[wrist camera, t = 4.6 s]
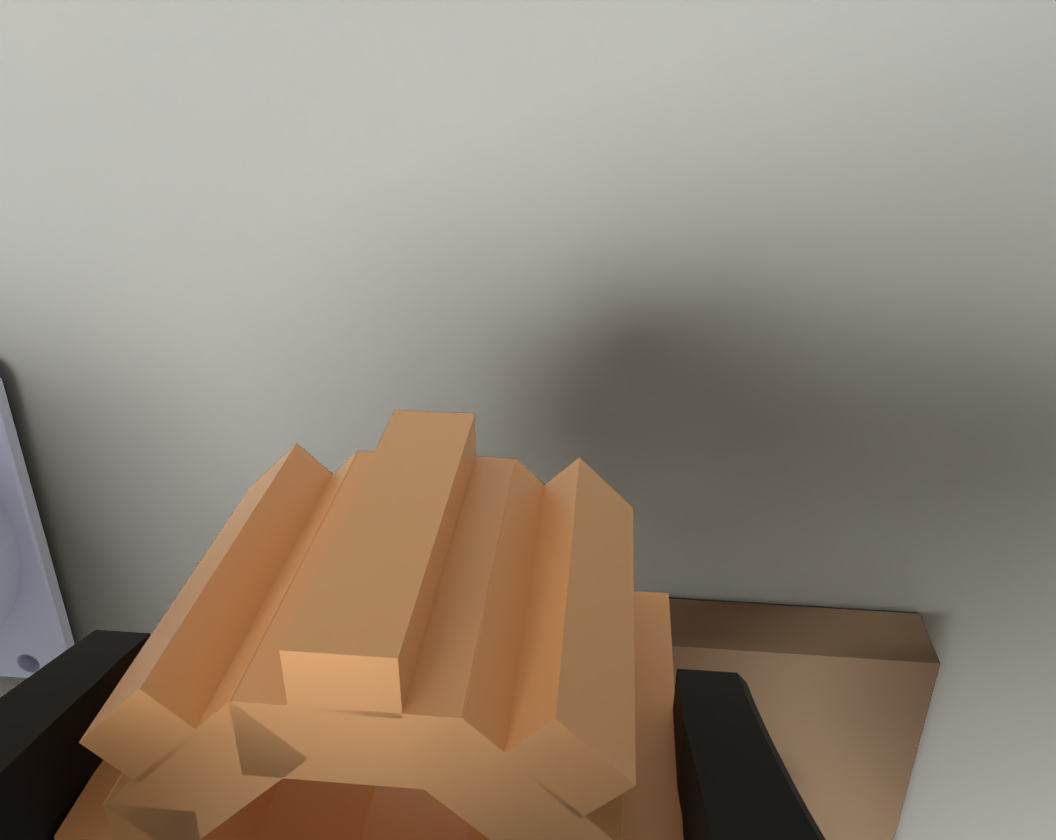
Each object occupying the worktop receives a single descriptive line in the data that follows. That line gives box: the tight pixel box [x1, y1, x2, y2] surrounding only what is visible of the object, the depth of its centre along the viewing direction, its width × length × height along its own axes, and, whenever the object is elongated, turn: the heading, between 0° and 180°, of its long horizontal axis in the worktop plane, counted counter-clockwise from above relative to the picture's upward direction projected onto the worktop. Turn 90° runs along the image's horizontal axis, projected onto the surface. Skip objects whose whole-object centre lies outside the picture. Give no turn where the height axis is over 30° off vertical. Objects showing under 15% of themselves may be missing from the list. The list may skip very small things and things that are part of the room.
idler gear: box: [54, 410, 684, 840], centre depth 10 cm, size 6×6×4 cm
